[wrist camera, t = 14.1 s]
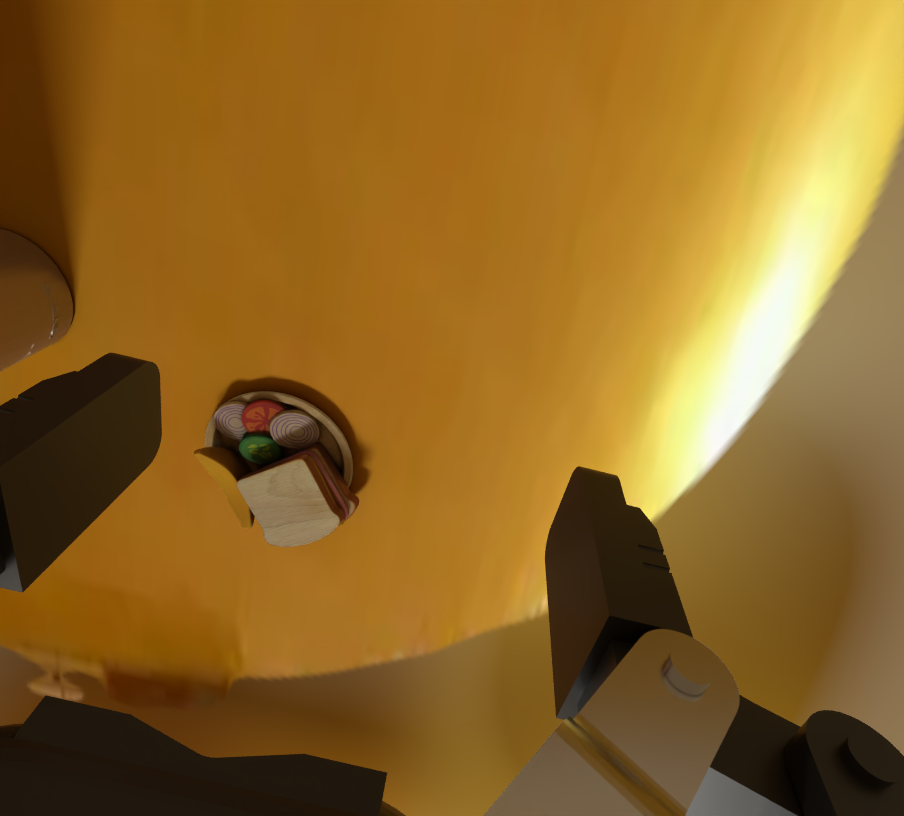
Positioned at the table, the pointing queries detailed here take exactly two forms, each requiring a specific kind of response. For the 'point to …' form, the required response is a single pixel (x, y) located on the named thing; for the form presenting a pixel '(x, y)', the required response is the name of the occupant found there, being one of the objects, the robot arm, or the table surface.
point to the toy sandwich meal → (280, 466)
